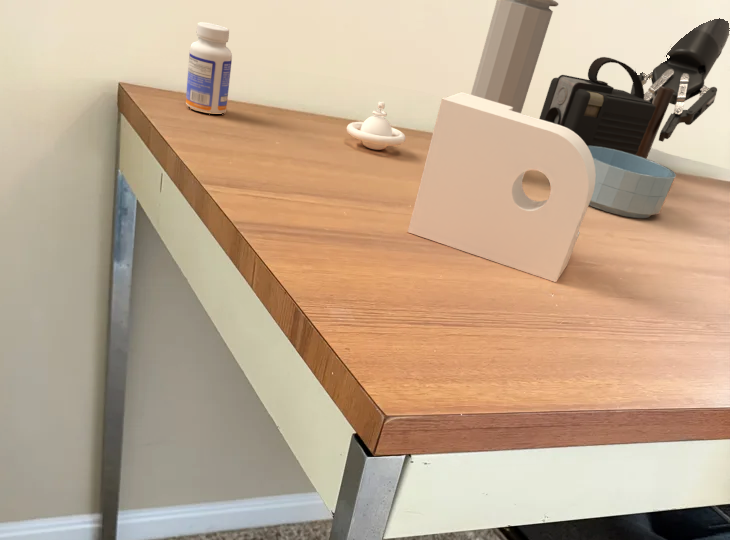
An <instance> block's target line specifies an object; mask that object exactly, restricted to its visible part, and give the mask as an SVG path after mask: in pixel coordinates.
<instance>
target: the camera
mask: <svg viewBox="0 0 730 540" xmlns="http://www.w3.org/2000/svg"><path fill="white" fill-rule="evenodd" d="M610 63H611V64H612V63H614V64H618V65H620V67H622V68H623V69H624V70H625V71H626V72H627V74H628V76H629V77H630V79H631V81H632V85H634V90H635V95H633V94H631V92H628V91H626V90H623V89H618V88H615V87H613V86H611V85H609V83H608V82H607V81H604V80H598V74H599V71H600V69H601V68H602V67H603V66H604V65H606V64H610ZM644 94H645V90H644V86H643V85H642V82H641V80H640V78H639V76H638V75H637V73H636V70H634V69H633V67H631V66H629V65H628V64H626V63H625V62H623V61H620V60H618V59H615V58H612V57H609V56H608V57H607V56H600V57H597V58H596V59H594V60H593V61H592V63H591V64H590V66H589V68H588V71H587V78H582V77H577V76H572V75H567V74H561V75H559V76H558V77H553V78H552V79H551V81H550V84H549V87H548V90H547V93H546V96H545V99H544V102H543V106H542V109H541V112H540V115H539V118H538V119H541V120H544V121H548V122H551V123H554V124H558V125H561V126H563V127H566V128H568V129H570V130H572V131H573V132H575V133H576V134H577V135H578V136H579V137H580V138H581V139H582V140H583V141H584V142H585V144H586V145H587V146H589V145H590V146H600V147H605V148H611V149H615V150H619V151H623V152H627V153H631V154H634V155H636V153H637V152H638V149H639V146H640V145H641V141H642V140H643V136H644V134H645V133H646V129H647V127H648V124H649V122H650V120H651V119H652V116H653V114H654V111H655V109H656V106H655V105H653V104H652V103H651V102H648V101H646V100H644Z"/></svg>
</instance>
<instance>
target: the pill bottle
mask: <svg viewBox="0 0 730 540" xmlns="http://www.w3.org/2000/svg"><path fill="white" fill-rule="evenodd" d="M196 37H197V40H196V41H193V42H192V43H191V44H190V46H189V54H188V67H187V68H188V69H187V81H186V93H185V105H186V104H187V105H188V106H190V107H192V108H195V109H198V110H202V111H207V112H211V113H224V112H225V113H226V112H227V107H228V99H229V90H230V80H231V72H232V71H231V70H232V60H233V53H232V51H231V49H230V48H229V47H227V43H228V42H229V39H230V29H229V28H227V27H226V26H223V25H220V24H216V23H213V22H212V23H211V22H206V21H200V22H197V25H196ZM225 113H224V114H225Z"/></svg>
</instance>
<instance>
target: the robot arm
mask: <svg viewBox="0 0 730 540" xmlns="http://www.w3.org/2000/svg"><path fill="white" fill-rule="evenodd" d="M729 29H730V28H729V23H728V21H725V20H724V19H720V18H719V19H714V20H712V21H711V20H710V21H708V22H706V23H703V24H701V25H699V26H698V27H696V28H694V29H693V30H692V31H690V32H689V33H688V34H686V35H685V36H684V37H683V38H681V39H680V40H679V41H678V42H677V43H676V44H675V45H674V46H673V47H672V48H671V50H670V51H669V52H668V51H667V52H668V53H667V52H666V53H667V55H669V56H670V58H669V59H668V58H667V61H665V62H663V63H661V62H660V63H659V64H658V65H656V66H655V67H653V69H652V70H653V72H651V73H650V74H648V75H646V74H645V73H643V72H642V73H640V75H638V76H639V78H640V80H641V82H642V85H644V86H645V85H646V84H647V82H648V81H649V80H651V85H650V86H649V88H648V89H647V91H646V92H644V100H646V101H648V102H651V103H652V104H653V102H654V99H655V97H656V94H657V92H658V89H659V87H660V86H663V87H667V88H671V89H673V90H674V93H673V96H672V98H671V100H670V103H669V105H674V109H673V113H670V115H669V116H668V118H667V120H666V122H665V123H664V125H663V127H662V128H661V130H660V132H659V136H658V141H659V142H665V140H669V139H670V138H671V136H672V135H673V133H674V131H675V129H676V128H677V126H678V125H679V124H682V123H683V124H685V125H687V126H690V125H692V124H693V123H694V122H695V121H696V120H697V119H698V118H699V117H700V116H701V115H702V114H703V113H705V111H707V110H708V109H709V108H710V107H711V106H712V105H713V104H714V103H715V100H716V97H717V92H718V88H717V87H716V86H711V87H708V86H706V85H705V80H706V79H707V77H708V75H709V73H710V72H711V70H712V68H713V67H714V65H715V63H716V62H717V60H718V59H719V57H720V56H721V54H722V53H723V49H724V48H725V47H726V44H727V41H728V38H729V37H730V34H729V31H730V30H729ZM665 55H666V54H665ZM667 55H666V57H667ZM645 75H646V76H645ZM648 78H649V80H648ZM650 78H651V79H650ZM647 80H648V81H647ZM630 94H633V95H635V90H634V85H633V84H632V85H631V90H630ZM697 95H699V97H698V99H697V100H696V101H695V102H694V103H693V104H692V105H690V107H689V108H688V109H684V106H685V102H686V101H688V100H690V99H693V98H694V97H696V96H697Z"/></svg>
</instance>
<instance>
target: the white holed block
mask: <svg viewBox="0 0 730 540" xmlns="http://www.w3.org/2000/svg"><path fill="white" fill-rule="evenodd" d="M512 110H513V107H511V106H507V105H504V104H501V103H497V102H494V101H490V100H487V99H484V98H480V97H477V96H474V95H471V93H467V92H463V91H461V92H458V93H454V94H451V95H449V96H445V97H443V98H441V101H440V104H439V108H438V112H437V116H436V119H435V120H436V121H435V124H434V128H433V132H432V135H431V139H430V144H429V147H428V151H427V155H426V159H425V163H424V167H423V170H422V174H421V177H420V178H421V179H420V182H419V187H418V189H417V195H416V199H415V201H414V206H413V209H412V214H411V217H410V222H409V225H408V229H407V233H409V234H412V235H415V236H418V237H421V238H423V239H426V240H430V241H433V242H435V243H439V244H442V245H444V246H448V247H450V248H454V249H456V250H459V251H462V252H465V253H467V254H471V255H474V256H477V257H480V258H483V259H485V260H489V261H492V262H495V263H497V264H501V265H503V266H507V267H509V268H513V269H515V270H518V271H521V272H524V273H527V274H530V275H533V276H536V277H539V278H541V279H545V280H547V281H551V282H554V283H557V281H558V280H559V278H560V277H561V275H562V274H563V272H564V271H565V269H566V268H567V266H568V264H569V262H570V259H571V257H572V254H573V252H574V249H575V247H576V243H577V242H578V239H579V236H580V229H581V227H582V224H583V222H584V219H585V216H586V214H587V211H588V208H589V206H590V205H589V203H590V201H591V198H592V195H593V192H594V187H595V178H596V173H595V165H594V160H593V157H592V154H591V152H590V150H589V148H588V146H587V145H586V144H585V142H584V141H583V140H582V139H581V138H580V137H579V136H578V135H577V134H576V133H575V132H573V131H572V130H570V129H568V128H566V127H563V126H561V125H558V124H554V123H551V122H548V121H544V120H541V119H539V118H537V117H534V116H531V115H528V114H524V113H522V112H521V113H518V112H514V111H512ZM528 171H536V172H540V173H542V175H544V176H545V177H546V178H547V180H548V182H549V186H550V189H549V190H550V192H549V196H548V198H547V199H544V200H540V201H539V200H534V199H532V198H530V197H529V196H528V195H527V194H526V193H525V190H524V187H523V181H524V180H523V179H524V176H525V174H526V172H528Z"/></svg>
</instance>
